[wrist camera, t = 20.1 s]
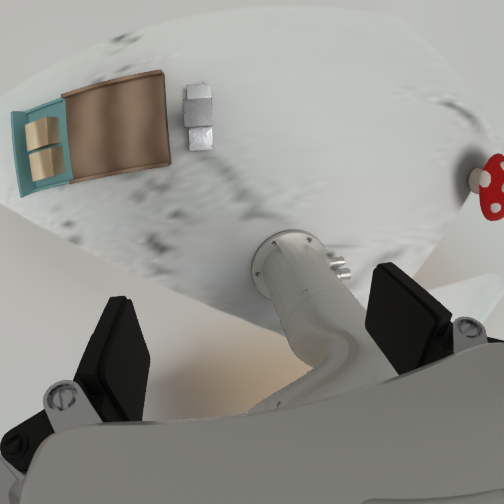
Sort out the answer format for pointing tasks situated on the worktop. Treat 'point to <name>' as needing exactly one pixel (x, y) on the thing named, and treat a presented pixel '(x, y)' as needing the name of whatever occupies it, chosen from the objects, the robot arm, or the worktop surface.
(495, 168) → the decorative mushroom
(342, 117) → the worktop surface
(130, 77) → the walnut channel
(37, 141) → the oak block
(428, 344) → the robot arm
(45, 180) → the teal tray
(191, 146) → the grey stepped block
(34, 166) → the oak block
